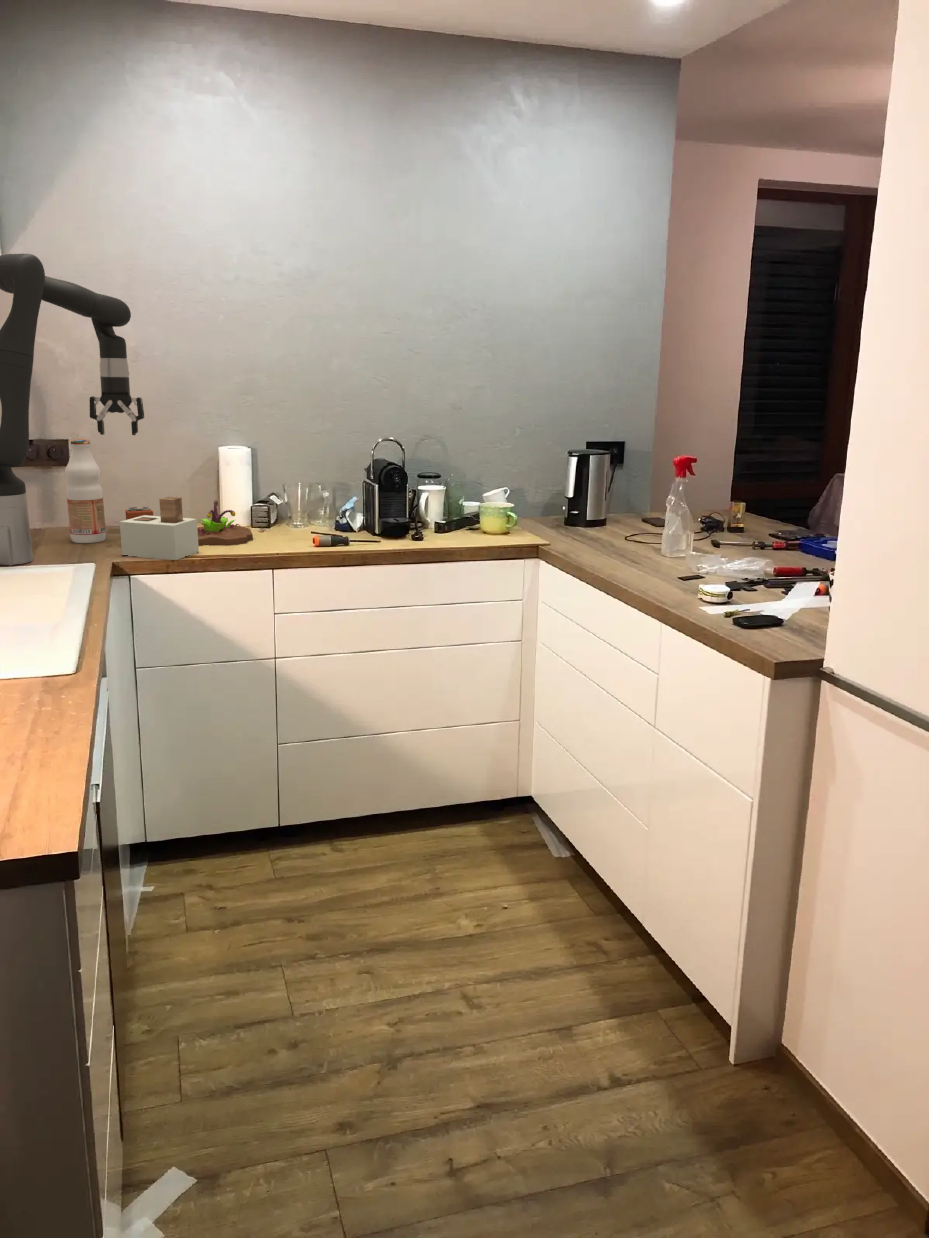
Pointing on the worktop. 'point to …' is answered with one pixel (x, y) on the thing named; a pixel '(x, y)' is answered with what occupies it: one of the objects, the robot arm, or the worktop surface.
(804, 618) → the worktop surface
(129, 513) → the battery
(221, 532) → the plant
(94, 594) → the worktop surface
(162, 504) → the peg
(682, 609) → the worktop surface
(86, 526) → the fruit juice
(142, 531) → the socket block
